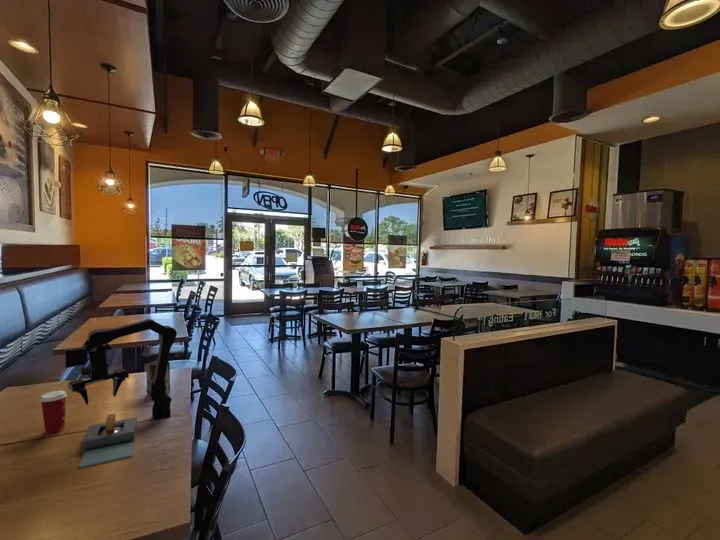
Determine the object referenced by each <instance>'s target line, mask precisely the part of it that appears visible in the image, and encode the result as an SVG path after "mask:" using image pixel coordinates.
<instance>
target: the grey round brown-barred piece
mask: <svg viewBox="0 0 720 540" xmlns="http://www.w3.org/2000/svg"><path fill="white" fill-rule="evenodd" d="M116 416H117V415H116V413H115V412H113V413H108V414H107V416H106V419H105V423H106V430H103V431H102V432H101V433H100V435H105V434H110V433H115V432H120V431H122V428H121V427H116V421H117V420H116Z"/></svg>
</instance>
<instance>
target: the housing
mask: <svg viewBox="0 0 720 540" xmlns="http://www.w3.org/2000/svg"><path fill="white" fill-rule="evenodd" d="M116 427H121V428H122V431H120V432H115V433H110V434H105V435H100V433H101V432H102V431H103V430H106V422H105V423H104V422H103V423H98V424H91V425H88V427H87V430H86V432H85V434H84V436H83V438H82V440H81V453H82V454H84V453H85V452H86V451H91V450H96V449H101V448H106V447H110V446H115V445H120V444H125V443H130V442H134V443H135V441H136V436H137V430H138V417H131V418H126V419H120V420H116Z"/></svg>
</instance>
